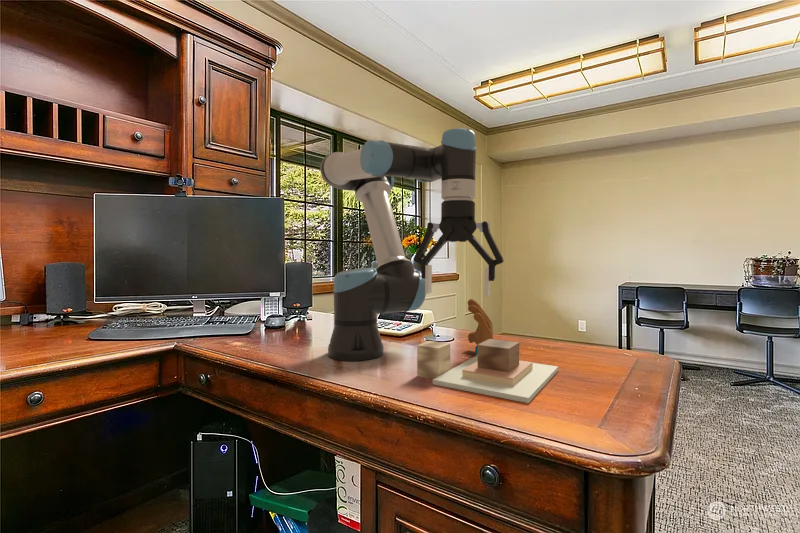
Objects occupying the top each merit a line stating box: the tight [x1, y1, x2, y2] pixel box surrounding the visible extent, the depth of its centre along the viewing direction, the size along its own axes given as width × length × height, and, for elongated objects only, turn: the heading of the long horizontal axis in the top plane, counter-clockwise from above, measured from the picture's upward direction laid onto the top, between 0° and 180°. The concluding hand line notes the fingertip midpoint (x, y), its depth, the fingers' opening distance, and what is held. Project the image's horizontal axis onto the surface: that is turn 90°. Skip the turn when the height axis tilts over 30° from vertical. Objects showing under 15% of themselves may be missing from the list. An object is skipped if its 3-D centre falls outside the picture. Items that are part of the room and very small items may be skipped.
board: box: [432, 355, 559, 404], centre depth 89 cm, size 20×24×2 cm
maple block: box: [416, 340, 451, 380], centre depth 92 cm, size 6×6×7 cm
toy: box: [467, 298, 494, 356], centre depth 110 cm, size 12×7×15 cm, turn 171°
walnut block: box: [477, 338, 520, 372], centre depth 89 cm, size 7×7×5 cm
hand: (457, 294), depth 92 cm, fingers open, 13 cm apart
